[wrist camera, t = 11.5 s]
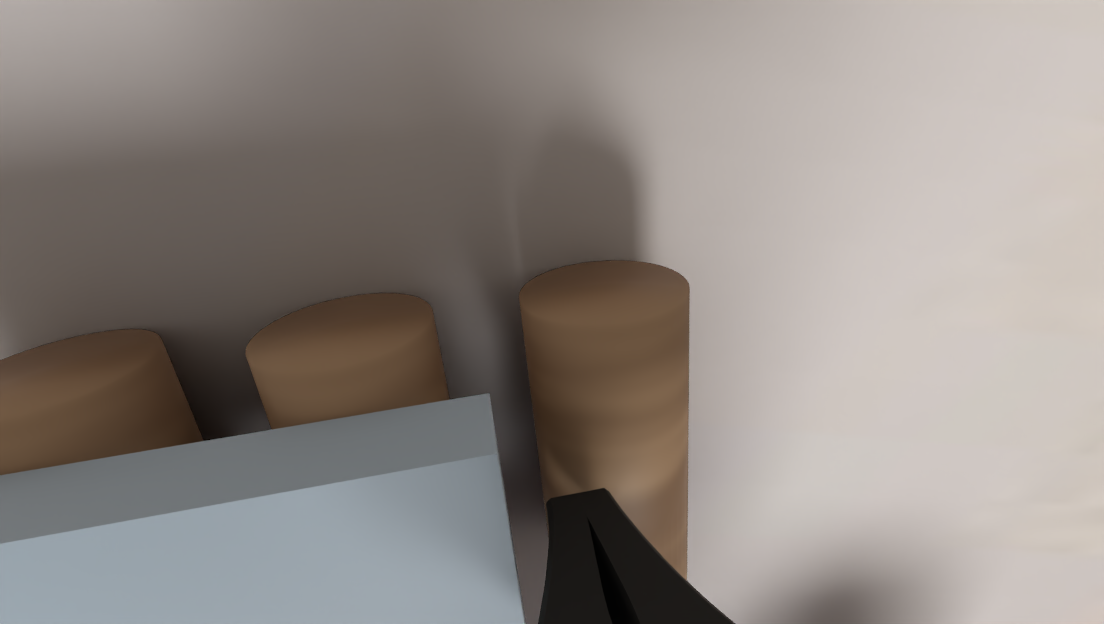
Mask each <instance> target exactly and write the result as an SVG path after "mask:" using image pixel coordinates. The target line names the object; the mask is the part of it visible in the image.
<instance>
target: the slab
mask: <svg viewBox="0 0 1104 624" xmlns="http://www.w3.org/2000/svg"><path fill="white" fill-rule="evenodd" d="M0 624H526V621H525V615H524V609H523V602H522V596H521V590H520V583H519V577H518V571H517V564H516V558H515V552H514V545H513V539H512V533H511V526H510V520H509V514H508V507H507V501H506V495H505V488H504V482H503V476H502V470H501V463H500V457H499V451H498V444H497V438H496V432H495V425H494V419H493V413H492V406H491V400H490V394H489V393H486V394H480V395H474V396H468V397H462V398H457V399H451V400H445V401H439V402H433V403H427V404H421V405H415V406H409V407H403V408H397V409H391V410H385V411H379V412H373V413H367V414H362V415H356V416H350V417H344V418H338V419H332V420H326V421H320V422H314V423H308V424H302V425H296V426H290V427H284V428H278V429H272V430H267V431H261V432H255V433H249V434H243V435H237V436H231V437H225V438H219V439H213V440H207V441H201V442H195V443H189V444H183V445H177V446H172V447H166V448H160V449H154V450H148V451H142V452H136V453H130V454H124V455H118V456H112V457H106V458H100V459H94V460H88V461H82V462H77V463H71V464H65V465H59V466H53V467H47V468H41V469H35V470H29V471H23V472H17V473H11V474H5V475H0Z"/></svg>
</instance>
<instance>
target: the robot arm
mask: <svg viewBox="0 0 1104 624" xmlns="http://www.w3.org/2000/svg"><path fill="white" fill-rule="evenodd" d="M546 509H547V518H548V527H549V549H548V560H547V570H546V580H545V587H544V593H543V599H542V605H541V611H540V617H539V622H538V624H735V623H734V622H733V621H731V620H730V619H729V618H728V617H727V616H725V615H724V614H723V613H722V612H721V611H719V610H718V609H717V608H716V607H715V606H714V605H712V604H711V603H710V602H709V601H708V600H707V599H706V598H705V597H703V596H702V595H701V594H700V593H699V592H698V591H697V590H696V589H695V588H694V587H693V586H692V585H691V584H690V583H688V582H687V581H686V580H685V579H684V578H683V577H682V576H681V575H680V574H679V573H678V572H677V571H676V570H675V569H674V568H673V567H672V566H671V565H670V564H669V563H668V562H667V561H666V560H665V558H664V557H663V556H662V555H661V554H660V553H659V552H658V551H657V550H656V549H655V548H654V547H653V545H652V544H651V543H650V542H649V541H648V540H647V539H646V538H645V537H644V535H643V534H642V533H641V532H640V531H639V530H638V528H637V527H636V526H635V525H634V524H633V522H632V521H631V520H630V519H629V517H628V516H627V515H626V514H625V512H624V511H623V510H622V509H621V507H620V506H619V505H618V503H617V502H616V500H615V499H614V498H613V496H612V495H611V493H610V492H609V491H608V490H607V489H605V488H601V489H595V490H590V491H585V492H580V493H574V494H569V495H564V496H558V497H553V498H550V499H549V500H548V501H547V502H546Z"/></svg>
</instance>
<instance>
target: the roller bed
mask: <svg viewBox="0 0 1104 624" xmlns="http://www.w3.org/2000/svg"><path fill="white" fill-rule="evenodd" d="M519 303H520V311H521V319H522V327H523V335H524V343H525V351H526V359H527V367H528V375H529V383H530V392H531V400H532V408H533V416H534V424H535V432H536V440H537V448H538V456H539V464H540V472H541V481H542V489H543V497H544V505H545V513H546V521H547V529H548V537H549V527H548V518H547V509H546V502H547V501H548V500H549V499H550V498H553V497H558V496H564V495H569V494H574V493H580V492H585V491H590V490H595V489H601V488H605V489H607V490H608V491H609V492H610V493H611V495H612V496H613V498H614V499H615V500H616V502H617V503H618V505H619V506H620V507H621V509H622V510H623V511H624V512H625V514H626V515H627V516H628V517H629V519H630V520H631V521H632V522H633V524H634V525H635V526H636V527H637V528H638V530H639V531H640V532H641V533H642V534H643V535H644V537H645V538H646V539H647V540H648V541H649V542H650V543H651V544H652V545H653V547H654V548H655V549H656V550H657V551H658V552H659V553H660V554H661V555H662V556H663V557H664V558H665V560H666V561H667V562H668V563H669V564H670V565H671V566H672V567H673V568H674V569H675V570H676V571H677V572H678V573H679V574H680V575H681V576H682V577H683V578H684V579H685V580H686V579H687V519H688V403H689V283H688V282H687V280H686V279H685V278H684V277H683V276H682V275H681V274H679V273H678V272H676V271H674V270H672V269H669V268H666V267H663V266H660V265H656V264H651V263H645V262H637V261H620V260H612V261H594V262H586V263H579V264H574V265H569V266H564V267H561V268H557V269H554V270H551V271H548V272H546V273H543V274H541V275H539V276H537V277H535V278H533V279H532V280H530V281H529V282H528V283H526V284H525V285H524V286H523V288H522V289H521V291H520V293H519ZM245 353H246V358H247V361H248V364H249V367H250V369H251V372H252V375H253V378H254V381H255V384H256V386H257V389H258V392H259V395H260V398H261V401H262V404H263V406H264V409H265V412H266V415H267V418H268V421H269V423H270V426H271V429H278V428H284V427H290V426H296V425H302V424H308V423H314V422H320V421H326V420H332V419H338V418H344V417H350V416H356V415H362V414H367V413H373V412H379V411H385V410H391V409H397V408H403V407H409V406H415V405H421V404H427V403H433V402H439V401H445V400H450V398H449V393H448V388H447V383H446V378H445V372H444V367H443V362H442V357H441V352H440V346H439V341H438V336H437V331H436V326H435V320H434V315H433V310H432V308H431V306H430V305H429V304H428V303H427V302H426V301H424V300H423V299H420V298H418V297H415V296H411V295H406V294H397V293H374V294H363V295H355V296H349V297H344V298H339V299H334V300H330V301H326V302H322V303H319V304H315V305H312V306H309V307H306V308H303V309H301V310H298V311H296V312H293V313H291V314H289V315H286V316H284V317H282V318H280V319H278V320H276V321H274V322H273V323H271V324H269V325H268V326H266V327H265V328H263V329H262V330H261V331H259V332H258V333H257V334H256V335H255V336H254V337H253V338H252V339H251V340H250V341H249V343H248V345H247V347H246V350H245ZM201 441H204V440H203V438H202V435H201V433H200V431H199V428H198V426H197V423H196V421H195V419H194V416H193V414H192V411H191V409H190V406H189V404H188V402H187V399H186V397H185V394H184V392H183V390H182V387H181V385H180V382H179V380H178V378H177V375H176V373H175V370H174V368H173V365H172V363H171V361H170V358H169V356H168V353H167V351H166V349H165V346H164V344H163V341H162V339H161V337H160V336H159V335H158V334H157V333H155V332H152V331H148V330H141V329H123V330H112V331H104V332H98V333H92V334H87V335H82V336H77V337H73V338H68V339H64V340H61V341H57V342H53V343H50V344H46V345H43V346H39V347H36V348H33V349H30V350H27V351H24V352H21V353H18V354H15V355H13V356H10V357H7V358H5V359H2V360H0V475H5V474H11V473H17V472H23V471H29V470H35V469H41V468H47V467H53V466H59V465H65V464H71V463H77V462H82V461H88V460H94V459H100V458H106V457H112V456H118V455H124V454H130V453H136V452H142V451H148V450H154V449H160V448H166V447H172V446H177V445H183V444H189V443H195V442H201Z"/></svg>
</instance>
